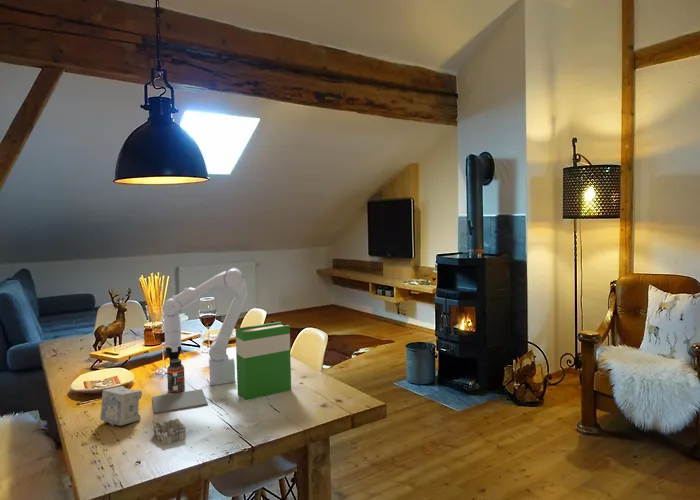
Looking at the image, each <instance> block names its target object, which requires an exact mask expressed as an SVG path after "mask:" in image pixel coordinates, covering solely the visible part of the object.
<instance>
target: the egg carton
mask: <svg viewBox="0 0 700 500" xmlns="http://www.w3.org/2000/svg"><path fill="white" fill-rule="evenodd" d="M151 424H152V425H153V426H154V427H153V428H152V432H153V436H154V437H156V438H157V440H158V441H160V440H161V444H162V445H165V444H166V445H170V444H172V443H173V442H174V441H183V440H184V439H185V438H186V437H187V436H186V435H187V434H186V429H187V427H186V426H185V424H184V423H182V422H181V421H180V419H179V418H174V419H169V420H168V421H167V420H165V421H163V423H162V424H160V421H157V422H155V421H154V420H153V421H152V422H151ZM184 437H185V438H184Z"/></svg>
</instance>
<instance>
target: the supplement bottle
mask: <svg viewBox="0 0 700 500" xmlns="http://www.w3.org/2000/svg"><path fill="white" fill-rule="evenodd" d="M166 368H167V369H166V371H167V372H166V374H167V376H166V377H167V378H166V379H167V392H169V393H170V394H173V393H180V392H184V390H185V389H186V388H185V387H186V385H185V384H186V382H185V366H184V365H183V364H182V359H180V358H179V359H173V360H170V359H169V365H168V367H166Z"/></svg>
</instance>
